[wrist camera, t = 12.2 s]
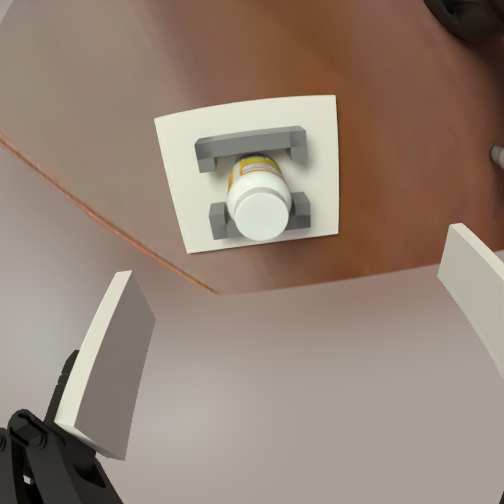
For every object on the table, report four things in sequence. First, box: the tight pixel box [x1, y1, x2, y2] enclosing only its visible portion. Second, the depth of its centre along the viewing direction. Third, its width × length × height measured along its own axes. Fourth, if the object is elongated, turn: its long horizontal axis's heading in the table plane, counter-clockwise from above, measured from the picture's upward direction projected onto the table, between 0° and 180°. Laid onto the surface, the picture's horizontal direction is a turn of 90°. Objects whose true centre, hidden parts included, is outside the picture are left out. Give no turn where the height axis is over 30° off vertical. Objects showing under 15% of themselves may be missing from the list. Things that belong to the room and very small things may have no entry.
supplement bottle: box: [227, 153, 292, 241], centre depth 25 cm, size 5×5×10 cm
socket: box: [154, 95, 339, 254], centre depth 28 cm, size 18×16×4 cm
